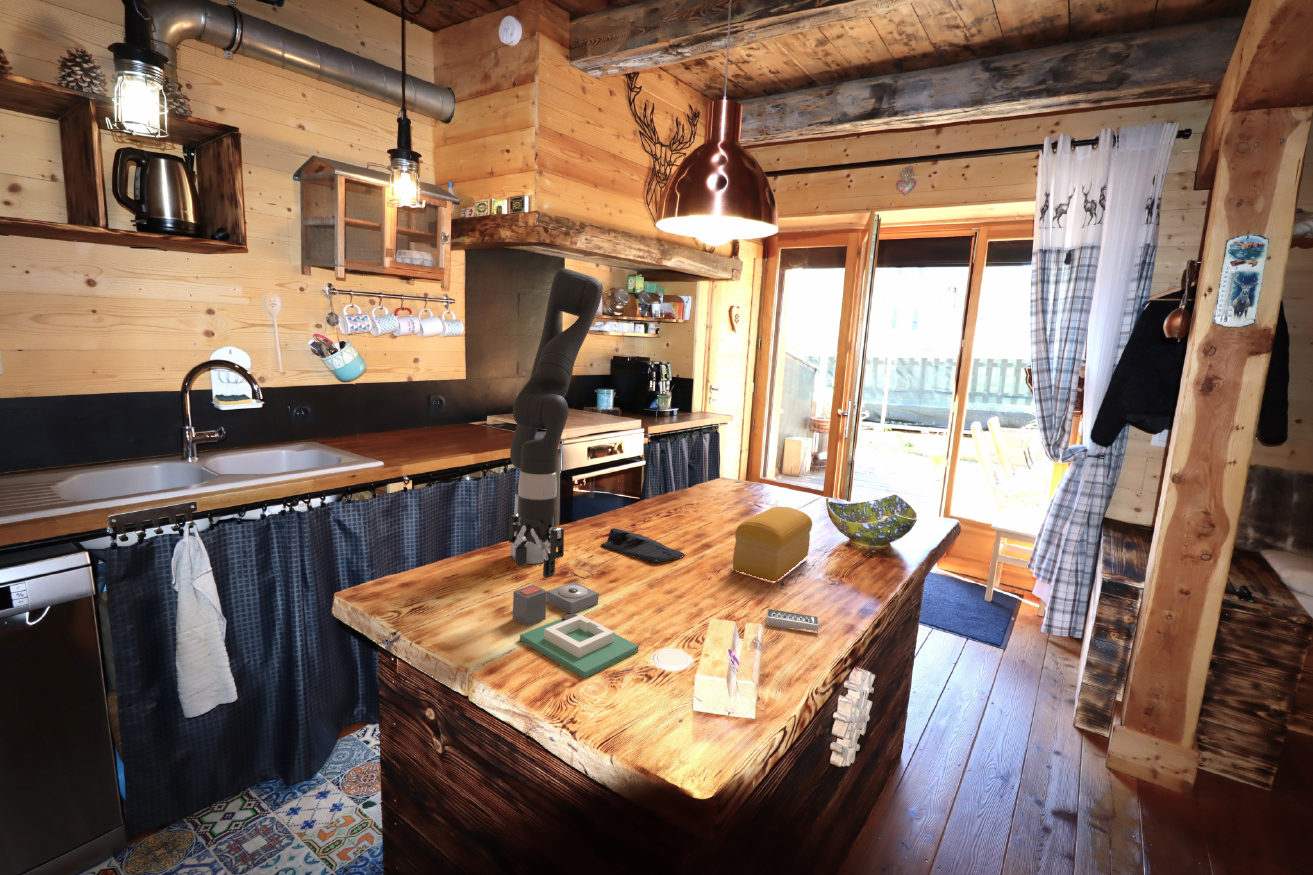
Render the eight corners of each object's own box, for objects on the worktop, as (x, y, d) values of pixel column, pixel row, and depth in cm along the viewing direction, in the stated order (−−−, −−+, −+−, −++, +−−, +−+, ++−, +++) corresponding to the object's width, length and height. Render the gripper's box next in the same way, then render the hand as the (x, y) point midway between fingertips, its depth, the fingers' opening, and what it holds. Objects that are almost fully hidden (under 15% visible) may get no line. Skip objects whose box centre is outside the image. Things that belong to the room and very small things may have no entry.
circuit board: (519, 640, 119) (520, 624, 119) (573, 618, 130) (574, 604, 129) (584, 678, 108) (585, 661, 107) (638, 651, 119) (639, 635, 118)
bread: (766, 549, 185) (772, 500, 182) (808, 560, 178) (814, 509, 176) (730, 571, 164) (735, 516, 162) (775, 585, 158) (782, 528, 155)
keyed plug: (512, 618, 128) (513, 590, 127) (534, 610, 132) (536, 583, 131) (526, 626, 125) (527, 597, 124) (548, 617, 130) (549, 589, 128)
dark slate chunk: (652, 570, 162) (654, 552, 161) (595, 546, 176) (597, 530, 176) (690, 557, 173) (691, 541, 172) (633, 536, 188) (635, 521, 187)
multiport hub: (766, 618, 139) (767, 608, 138) (816, 626, 137) (818, 616, 136) (765, 626, 134) (766, 616, 134) (817, 635, 132) (819, 625, 132)
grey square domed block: (546, 601, 137) (547, 588, 136) (573, 592, 143) (574, 579, 143) (571, 614, 132) (571, 600, 131) (597, 603, 138) (598, 590, 138)
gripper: (576, 497, 123) (571, 576, 125) (529, 483, 131) (526, 557, 134) (546, 503, 117) (543, 585, 119) (499, 488, 126) (497, 565, 128)
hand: (534, 570), depth 127 cm, fingers open, 8 cm apart
